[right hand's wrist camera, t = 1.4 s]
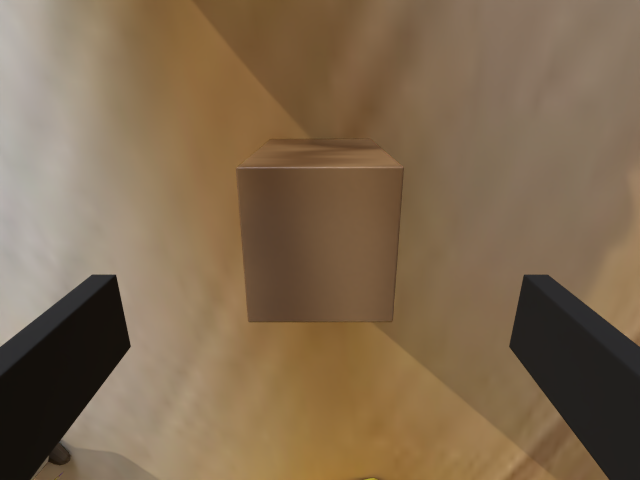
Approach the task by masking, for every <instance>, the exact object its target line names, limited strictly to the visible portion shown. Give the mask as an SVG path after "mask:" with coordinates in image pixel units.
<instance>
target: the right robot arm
mask: <svg viewBox="0 0 640 480" xmlns="http://www.w3.org/2000/svg"><path fill="white" fill-rule="evenodd" d="M130 347H131V345H130V341H129V336H128V331H127V326H126V321H125V316H124V311H123V306H122V302H121V297H120V292H119V287H118V282H117V277H116V275H91V276H90V277H89V278H87V279H86V280H85V281H84V282H82V283H81V284H80V285H79V286H77V287H76V288H75V289H73V290H72V291H71V292H70V293H68V294H67V295H66V296H65V297H63V298H62V299H61V300H59V301H58V302H57V303H56V304H54V305H53V306H52V307H51V308H49V309H48V310H47V311H45V312H44V313H43V314H42V315H40V316H39V317H38V318H37V319H35V320H34V321H33V322H32V323H30V324H29V325H28V326H26V327H25V328H24V329H23V330H21V331H20V332H19V333H18V334H16V335H15V336H14V337H12V338H11V339H10V340H9V341H7V342H6V343H5V344H4V345H2V346H1V347H0V480H31V478H32V477H33V476H34V474H35V473H36V472H37V470H38V469H39V468H40V467H41V465H42V464H43V463H44V461H45V460H46V459H47V457H48V456H49V455H50V453H51V452H52V451H53V449H54V448H55V447H56V445H57V444H58V443H59V441H60V440H61V439H62V437H63V436H64V435H65V433H66V432H67V431H68V429H69V428H70V427H71V425H72V424H73V423H74V421H75V420H76V419H77V417H78V416H79V415H80V413H81V412H82V411H83V409H84V408H85V407H86V405H87V404H88V403H89V401H90V400H91V399H92V397H93V396H94V395H95V393H96V392H97V391H98V389H99V388H100V387H101V386H102V384H103V383H104V382H105V380H106V379H107V378H108V376H109V375H110V374H111V372H112V371H113V370H114V368H115V367H116V366H117V364H118V363H119V362H120V360H121V359H122V358H123V356H124V355H125V354H126V352H127V351H128V350H129V348H130ZM509 347H510V348H511V350H512V351H513V352H514V354H515V355H516V356H517V358H518V359H519V360H520V362H521V363H522V364H523V366H524V367H525V368H526V370H527V371H528V372H529V374H530V375H531V376H532V378H533V379H534V380H535V382H536V383H537V384H538V386H539V387H540V388H541V389H542V391H543V392H544V393H545V395H546V396H547V397H548V399H549V400H550V401H551V403H552V404H553V405H554V407H555V408H556V409H557V411H558V412H559V413H560V415H561V416H562V417H563V419H564V420H565V421H566V423H567V424H568V425H569V427H570V428H571V429H572V431H573V432H574V433H575V435H576V436H577V437H578V439H579V440H580V441H581V443H582V444H583V445H584V447H585V448H586V449H587V451H588V452H589V453H590V455H591V456H592V457H593V459H594V460H595V461H596V463H597V464H598V465H599V467H600V468H601V469H602V470H603V472H604V473H605V474H606V476H607V477H608V478H609V480H640V347H639V346H638V345H636V344H635V343H634V342H633V341H631V340H630V339H629V338H628V337H626V336H625V335H624V334H622V333H621V332H620V331H619V330H617V329H616V328H615V327H614V326H612V325H611V324H610V323H608V322H607V321H606V320H605V319H603V318H602V317H601V316H600V315H598V314H597V313H596V312H595V311H593V310H592V309H591V308H589V307H588V306H587V305H586V304H584V303H583V302H582V301H581V300H579V299H578V298H577V297H575V296H574V295H573V294H572V293H570V292H569V291H568V290H567V289H565V288H564V287H563V286H561V285H560V284H559V283H558V282H556V281H555V280H554V279H553V278H551V277H550V276H549V275H524V277H523V282H522V287H521V292H520V297H519V302H518V306H517V311H516V316H515V321H514V326H513V331H512V336H511V341H510V345H509Z"/></svg>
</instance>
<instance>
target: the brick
mask: <svg viewBox="0 0 640 480" xmlns="http://www.w3.org/2000/svg"><path fill="white" fill-rule="evenodd" d="M403 172H404V168H403V166H402V165H400V164H399V163H398V162H397V161H396V160H395V159H393V158H392V157H391V156H390V155H389V154H388V153H386V152H385V151H384V150H383V149H382V148H381V147H380V146H378V145H377V144H376V143H375V142H374V141H373V140H371V139H270V140H269V141H268V142H266V143H265V144H264V145H263V146H262V147H260V148H259V149H258V150H257V151H256V152H254V153H253V154H252V155H251V156H250V157H248V158H247V159H246V160H245V161H244V162H242V163H241V164H240V165H239V166H238V167H236V175H237V187H238V200H239V213H240V225H241V238H242V251H243V263H244V276H245V288H246V301H247V314H248V322H392V321H393V310H394V296H395V282H396V268H397V255H398V241H399V227H400V213H401V199H402V185H403Z"/></svg>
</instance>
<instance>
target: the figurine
mask: <svg viewBox="0 0 640 480" xmlns="http://www.w3.org/2000/svg"><path fill="white" fill-rule="evenodd" d="M69 461H70V455H69V453H68V452H67V451H66V450H65V449H64V448H63V447H62V446H61V445H60V444H59V443H58V444H57V445H56V447H55V448H54V449H53V451H52V452H51V453H50V455H49V456H48V457H47V459H46V460H45V461H44V463H43V464H42V465H41V467H40V468H39V469H38V470H37V472H36V473H35V474H34V476H33V477H32V478H31V480H33V479H34V478H35V477H36V476H37V474H38V473H39V472H40V471H41V470H42V469H43V467H44V466H45V465H46V463H47V462H50V463H53V464H57V465H63V464H66V463H68V462H69ZM60 475H61V474H60ZM60 475H59V476H60ZM59 476H58V477H59ZM58 477H57V478H58ZM57 478H56V479H57ZM56 479H55V480H56Z"/></svg>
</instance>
